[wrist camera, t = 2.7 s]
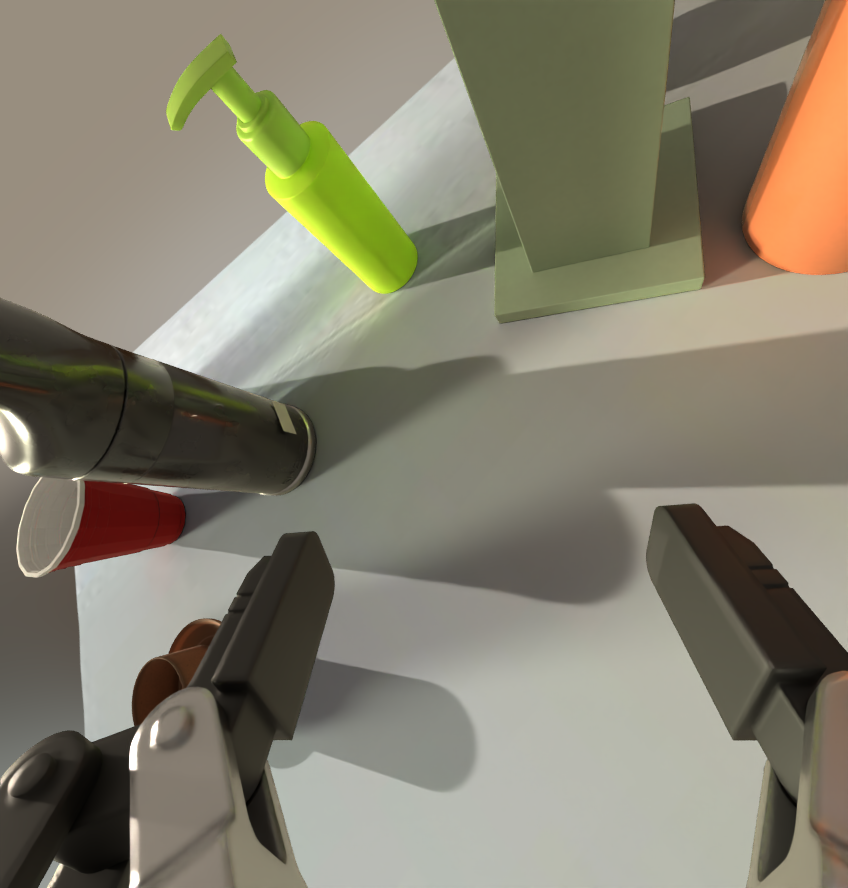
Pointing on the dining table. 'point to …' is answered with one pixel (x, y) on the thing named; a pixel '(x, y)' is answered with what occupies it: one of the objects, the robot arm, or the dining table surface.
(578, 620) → the dining table surface
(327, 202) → the soap dispenser
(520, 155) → the plant stand
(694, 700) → the dining table surface
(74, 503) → the plastic cup
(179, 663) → the cup and saucer
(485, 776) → the dining table surface
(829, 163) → the terracotta jar
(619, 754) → the dining table surface
